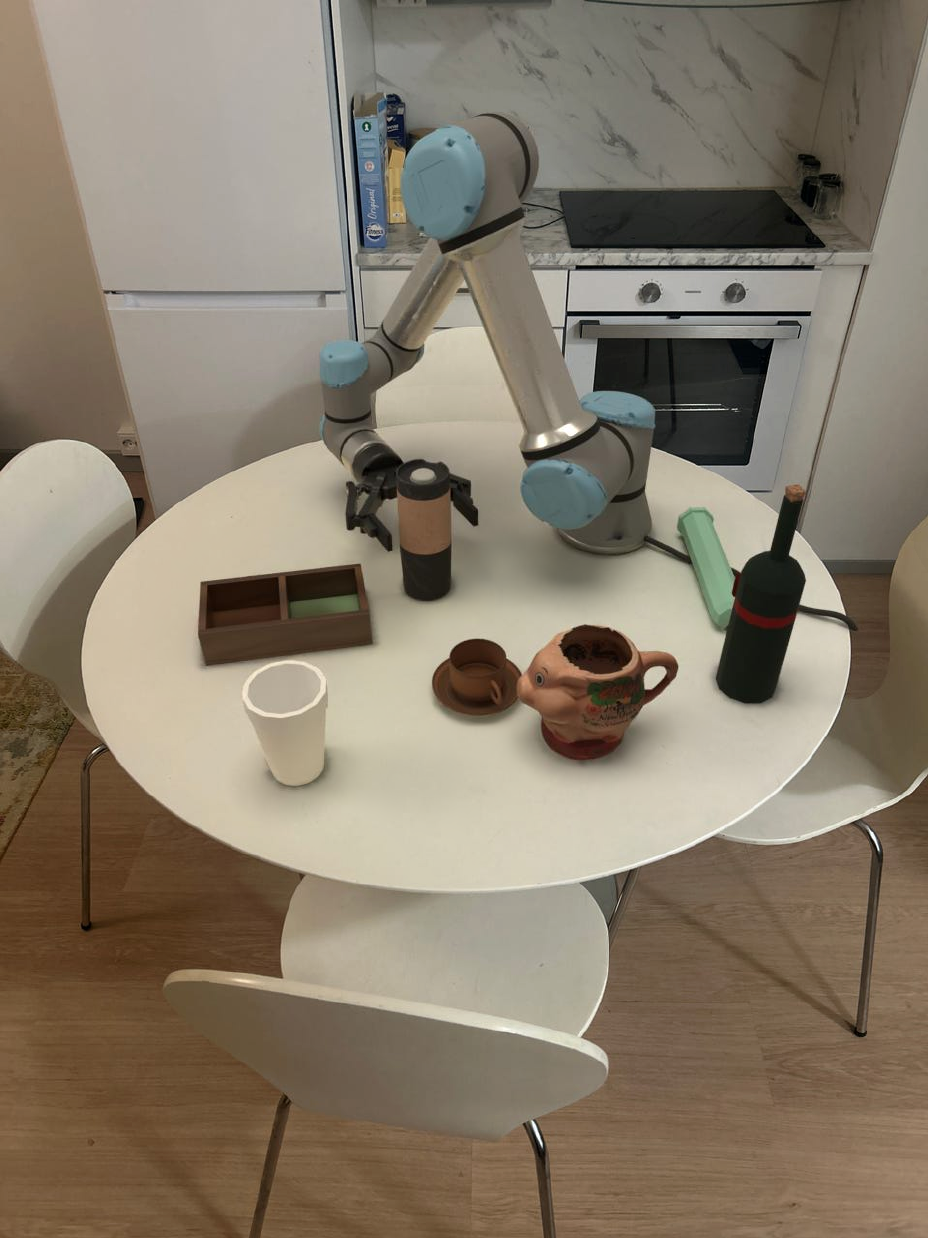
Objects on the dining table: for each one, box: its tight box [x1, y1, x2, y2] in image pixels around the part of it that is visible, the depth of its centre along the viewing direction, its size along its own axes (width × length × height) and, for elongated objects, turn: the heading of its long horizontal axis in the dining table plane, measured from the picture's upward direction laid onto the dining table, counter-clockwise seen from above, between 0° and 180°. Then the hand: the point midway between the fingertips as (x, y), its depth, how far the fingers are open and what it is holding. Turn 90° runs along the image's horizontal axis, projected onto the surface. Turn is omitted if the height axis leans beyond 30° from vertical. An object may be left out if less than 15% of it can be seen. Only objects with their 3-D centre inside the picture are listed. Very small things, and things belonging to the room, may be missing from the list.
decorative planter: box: [517, 623, 679, 761], centre depth 111 cm, size 20×12×14 cm, turn 107°
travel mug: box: [396, 458, 453, 602], centre depth 133 cm, size 8×8×20 cm
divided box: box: [197, 563, 373, 666], centre depth 130 cm, size 12×23×6 cm, turn 101°
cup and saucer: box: [431, 638, 523, 717], centre depth 119 cm, size 12×12×6 cm
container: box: [676, 506, 735, 630], centre depth 138 cm, size 6×6×25 cm
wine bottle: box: [715, 483, 807, 704], centre depth 114 cm, size 8×10×30 cm
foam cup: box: [241, 659, 329, 787], centre depth 107 cm, size 10×9×13 cm
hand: (433, 530), depth 129 cm, fingers open, 13 cm apart
